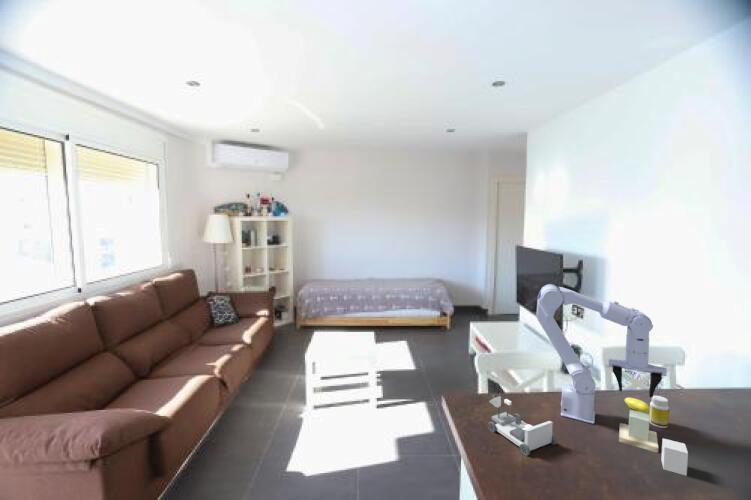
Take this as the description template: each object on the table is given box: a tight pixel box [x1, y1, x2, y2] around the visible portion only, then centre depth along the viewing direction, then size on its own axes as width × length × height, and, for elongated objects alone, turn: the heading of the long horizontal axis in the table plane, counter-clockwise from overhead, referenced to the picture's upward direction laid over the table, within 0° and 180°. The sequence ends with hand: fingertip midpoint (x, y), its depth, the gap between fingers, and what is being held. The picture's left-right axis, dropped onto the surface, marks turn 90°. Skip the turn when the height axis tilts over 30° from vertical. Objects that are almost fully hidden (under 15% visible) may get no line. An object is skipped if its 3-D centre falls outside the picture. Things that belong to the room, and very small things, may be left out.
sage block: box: [628, 409, 650, 441], centre depth 106 cm, size 5×5×6 cm
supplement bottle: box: [649, 395, 670, 429], centre depth 114 cm, size 5×5×8 cm
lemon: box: [624, 397, 650, 414], centre depth 123 cm, size 4×8×4 cm, turn 21°
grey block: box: [661, 438, 689, 477], centre depth 94 cm, size 5×5×6 cm
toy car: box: [487, 394, 558, 457], centre depth 109 cm, size 18×10×12 cm
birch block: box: [618, 422, 659, 453], centre depth 107 cm, size 9×9×2 cm
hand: (635, 393), depth 113 cm, fingers open, 7 cm apart
